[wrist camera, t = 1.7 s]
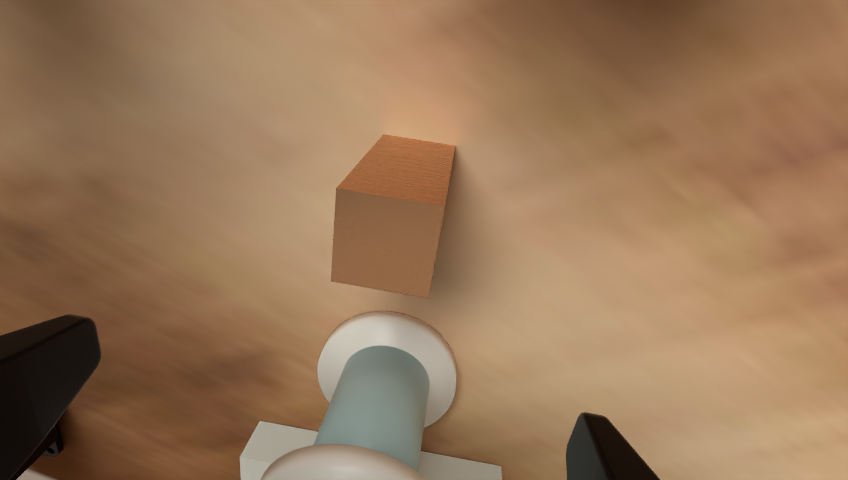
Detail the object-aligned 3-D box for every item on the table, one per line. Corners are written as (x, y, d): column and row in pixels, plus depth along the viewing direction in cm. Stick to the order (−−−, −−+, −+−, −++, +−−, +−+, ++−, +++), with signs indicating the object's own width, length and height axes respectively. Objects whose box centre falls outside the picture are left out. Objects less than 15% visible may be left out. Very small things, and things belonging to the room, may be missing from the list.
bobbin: (320, 406, 26) (248, 580, 18) (326, 299, 23) (242, 451, 15) (445, 429, 26) (429, 616, 18) (467, 324, 23) (461, 493, 14)
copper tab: (376, 202, 21) (331, 281, 14) (383, 134, 19) (336, 188, 13) (444, 213, 20) (428, 298, 14) (455, 146, 19) (443, 206, 13)
